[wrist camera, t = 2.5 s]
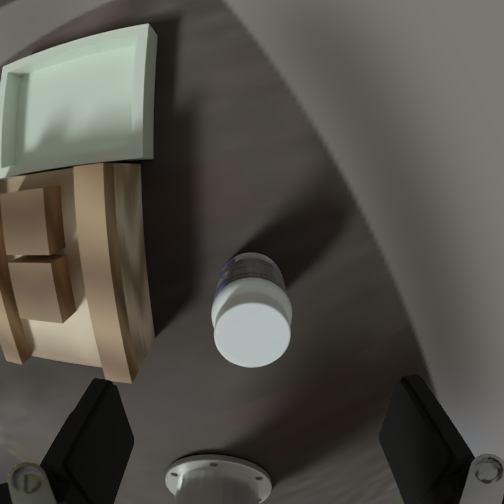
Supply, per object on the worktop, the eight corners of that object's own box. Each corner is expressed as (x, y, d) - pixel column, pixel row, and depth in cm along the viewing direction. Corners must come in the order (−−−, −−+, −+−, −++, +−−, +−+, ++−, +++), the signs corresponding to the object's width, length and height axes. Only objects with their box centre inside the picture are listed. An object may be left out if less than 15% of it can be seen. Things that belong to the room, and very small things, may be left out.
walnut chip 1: (65, 247, 18) (49, 255, 16) (23, 248, 18) (6, 255, 16) (60, 185, 17) (43, 187, 15) (17, 191, 17) (-1, 194, 15)
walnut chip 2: (76, 311, 19) (62, 323, 17) (34, 307, 19) (20, 318, 17) (66, 254, 18) (50, 263, 16) (24, 254, 18) (7, 262, 16)
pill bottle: (217, 252, 23) (201, 295, 15) (281, 250, 23) (299, 291, 15) (221, 311, 25) (210, 374, 16) (282, 309, 25) (297, 371, 16)
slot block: (155, 337, 25) (132, 383, 19) (43, 327, 25) (6, 360, 19) (140, 164, 22) (103, 162, 15) (20, 179, 22) (-30, 185, 15)
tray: (153, 159, 22) (142, 158, 19) (13, 177, 21) (-5, 179, 19) (157, 36, 19) (148, 23, 17) (18, 72, 19) (3, 66, 17)
